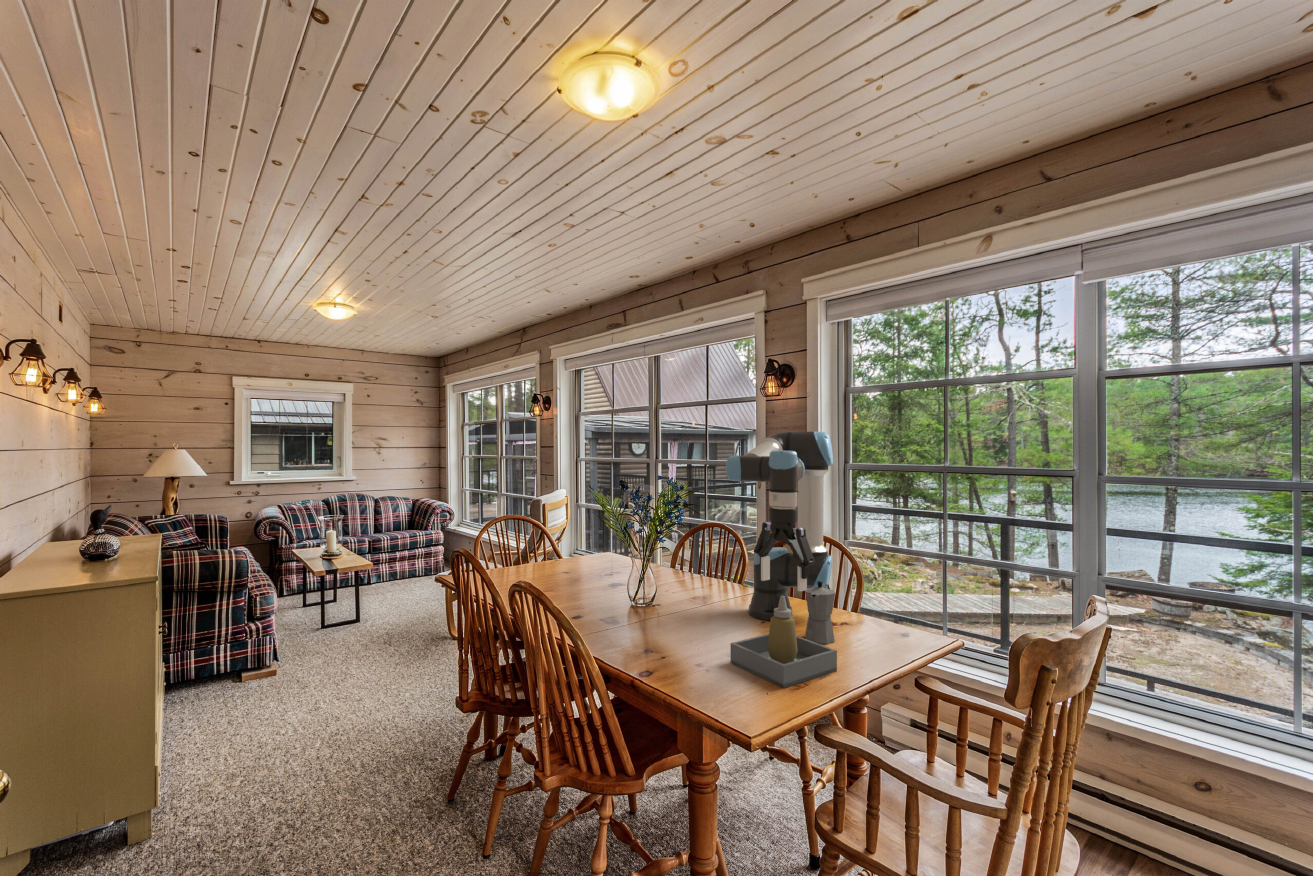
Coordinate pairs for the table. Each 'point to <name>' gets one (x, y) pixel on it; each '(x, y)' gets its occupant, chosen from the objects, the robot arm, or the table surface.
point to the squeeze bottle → (782, 634)
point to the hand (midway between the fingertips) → (783, 585)
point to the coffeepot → (820, 614)
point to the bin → (805, 667)
